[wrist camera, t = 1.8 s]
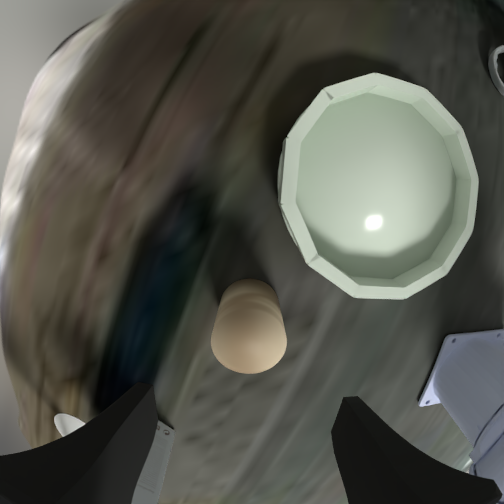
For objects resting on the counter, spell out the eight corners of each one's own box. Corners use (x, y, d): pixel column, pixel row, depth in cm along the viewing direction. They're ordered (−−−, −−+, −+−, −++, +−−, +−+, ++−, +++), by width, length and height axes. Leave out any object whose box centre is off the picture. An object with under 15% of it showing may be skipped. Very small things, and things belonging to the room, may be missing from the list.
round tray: (459, 115, 17) (480, 110, 14) (440, 289, 20) (458, 301, 17) (285, 69, 16) (290, 54, 14) (267, 280, 19) (269, 294, 17)
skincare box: (138, 406, 22) (92, 511, 11) (179, 431, 23) (152, 539, 11) (114, 431, 23) (73, 519, 12) (150, 453, 24) (121, 544, 12)
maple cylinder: (282, 280, 20) (291, 312, 15) (275, 333, 20) (281, 375, 16) (221, 276, 19) (212, 306, 15) (218, 329, 20) (210, 370, 16)
